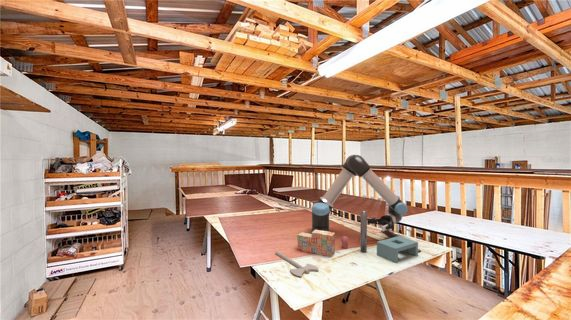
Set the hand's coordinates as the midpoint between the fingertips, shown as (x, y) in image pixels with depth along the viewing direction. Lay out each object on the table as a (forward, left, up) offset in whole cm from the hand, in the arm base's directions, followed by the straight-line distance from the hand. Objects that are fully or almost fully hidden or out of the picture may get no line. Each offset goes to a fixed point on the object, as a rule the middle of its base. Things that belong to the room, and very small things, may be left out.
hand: (371, 226), depth 149 cm
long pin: (-8, -5, -13) cm, 16 cm away
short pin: (-17, +2, -13) cm, 21 cm away
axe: (-52, -17, -14) cm, 56 cm away
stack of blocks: (-36, -3, -13) cm, 38 cm away
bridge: (+9, -12, -13) cm, 20 cm away
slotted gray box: (+23, +9, -14) cm, 28 cm away
